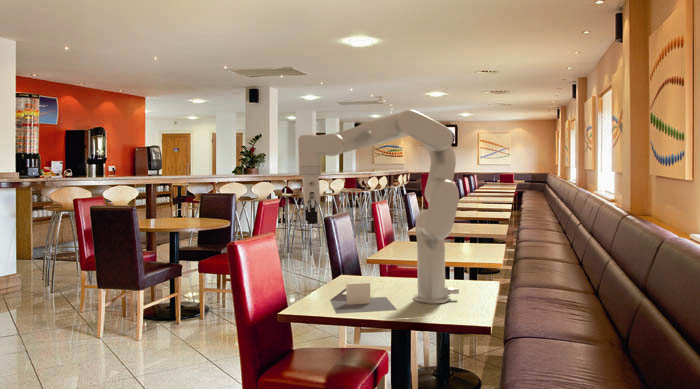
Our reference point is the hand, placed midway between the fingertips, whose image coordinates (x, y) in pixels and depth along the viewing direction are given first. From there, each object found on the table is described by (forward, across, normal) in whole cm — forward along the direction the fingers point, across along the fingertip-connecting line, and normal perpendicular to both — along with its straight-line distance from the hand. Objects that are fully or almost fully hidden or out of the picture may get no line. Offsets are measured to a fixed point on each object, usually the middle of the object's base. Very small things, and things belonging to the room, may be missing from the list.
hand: (311, 222), depth 189 cm
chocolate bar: (+29, +11, -14) cm, 34 cm away
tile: (+28, -2, -15) cm, 32 cm away
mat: (+28, -4, -16) cm, 33 cm away
